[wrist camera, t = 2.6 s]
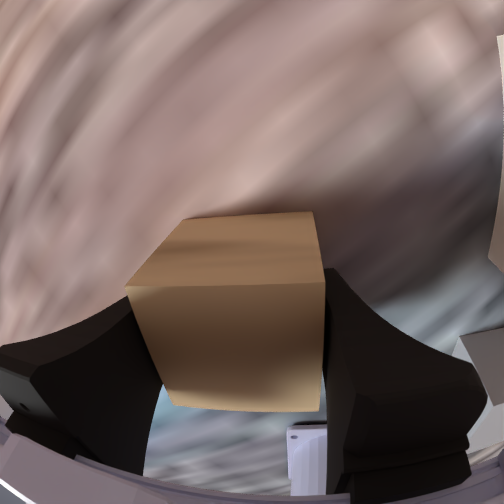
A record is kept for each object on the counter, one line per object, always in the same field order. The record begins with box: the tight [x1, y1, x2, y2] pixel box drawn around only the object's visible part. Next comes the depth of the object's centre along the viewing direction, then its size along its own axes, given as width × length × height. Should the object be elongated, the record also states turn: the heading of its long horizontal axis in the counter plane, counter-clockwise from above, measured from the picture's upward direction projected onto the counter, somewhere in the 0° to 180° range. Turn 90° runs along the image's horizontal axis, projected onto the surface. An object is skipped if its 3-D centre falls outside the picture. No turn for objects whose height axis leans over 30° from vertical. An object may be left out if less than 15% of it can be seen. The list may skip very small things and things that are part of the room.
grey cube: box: [452, 328, 504, 454], centre depth 11 cm, size 5×5×5 cm
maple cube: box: [124, 211, 325, 412], centre depth 10 cm, size 5×5×5 cm
